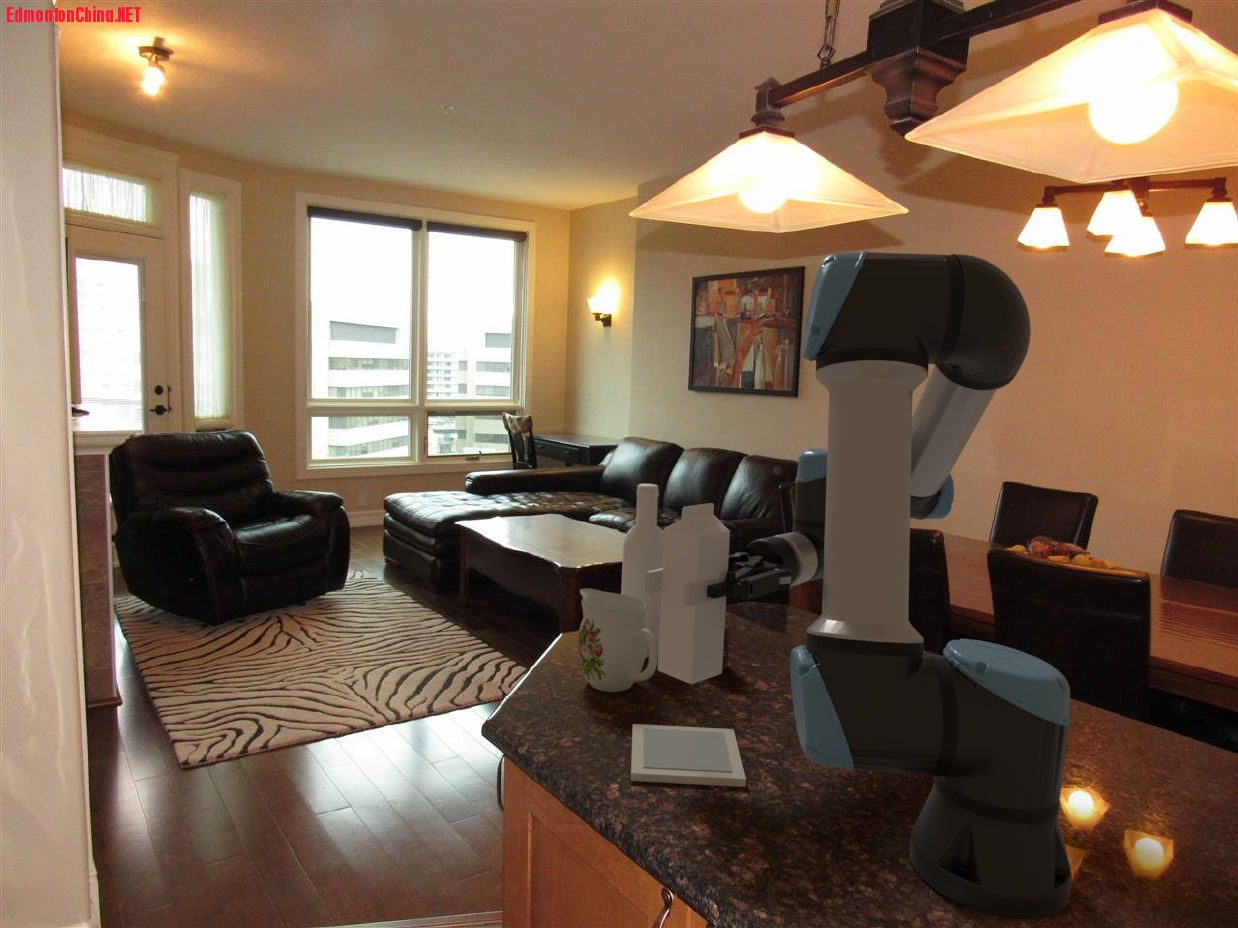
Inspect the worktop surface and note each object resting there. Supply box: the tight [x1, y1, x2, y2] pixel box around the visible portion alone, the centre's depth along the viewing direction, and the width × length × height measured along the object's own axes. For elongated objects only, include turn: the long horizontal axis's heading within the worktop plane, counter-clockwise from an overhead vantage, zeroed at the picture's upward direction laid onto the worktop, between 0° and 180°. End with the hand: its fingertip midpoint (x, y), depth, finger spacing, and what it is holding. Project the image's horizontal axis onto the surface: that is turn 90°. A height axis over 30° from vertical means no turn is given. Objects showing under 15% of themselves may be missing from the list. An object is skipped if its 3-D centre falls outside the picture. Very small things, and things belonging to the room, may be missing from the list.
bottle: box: [620, 483, 664, 659], centre depth 146 cm, size 8×8×30 cm
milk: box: [657, 502, 731, 685], centre depth 105 cm, size 6×6×22 cm
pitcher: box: [577, 587, 658, 693], centre depth 130 cm, size 11×18×14 cm, turn 41°
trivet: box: [630, 723, 747, 788], centre depth 107 cm, size 14×14×1 cm
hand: (666, 588), depth 102 cm, fingers closed on milk, 6 cm apart
